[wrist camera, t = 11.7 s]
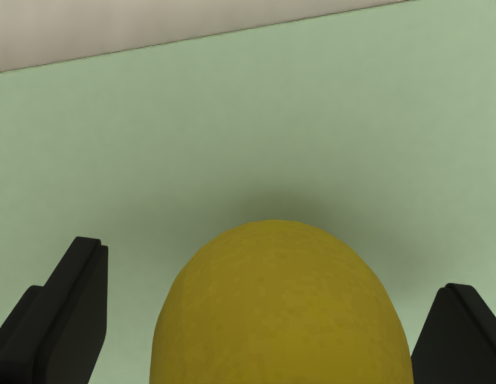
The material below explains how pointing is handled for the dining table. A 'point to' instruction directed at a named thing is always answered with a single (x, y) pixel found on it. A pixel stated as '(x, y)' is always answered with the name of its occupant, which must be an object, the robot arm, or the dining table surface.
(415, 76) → the napkin
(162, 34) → the dining table surface
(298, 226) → the lemon
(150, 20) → the dining table surface
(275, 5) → the dining table surface
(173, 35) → the dining table surface
